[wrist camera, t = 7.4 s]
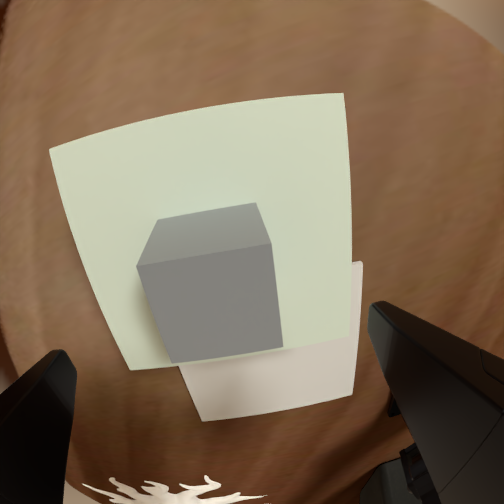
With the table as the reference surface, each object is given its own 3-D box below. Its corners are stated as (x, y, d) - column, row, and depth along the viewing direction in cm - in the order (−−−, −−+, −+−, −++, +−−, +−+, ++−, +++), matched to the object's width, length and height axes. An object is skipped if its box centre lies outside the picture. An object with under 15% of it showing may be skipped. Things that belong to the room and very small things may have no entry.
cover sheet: (344, 327, 17) (376, 390, 13) (132, 360, 17) (117, 428, 13) (336, 93, 12) (393, 92, 8) (57, 146, 12) (-7, 170, 7)
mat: (350, 391, 28) (352, 394, 27) (202, 418, 27) (202, 421, 27) (360, 260, 21) (362, 263, 21) (154, 295, 21) (153, 299, 21)
